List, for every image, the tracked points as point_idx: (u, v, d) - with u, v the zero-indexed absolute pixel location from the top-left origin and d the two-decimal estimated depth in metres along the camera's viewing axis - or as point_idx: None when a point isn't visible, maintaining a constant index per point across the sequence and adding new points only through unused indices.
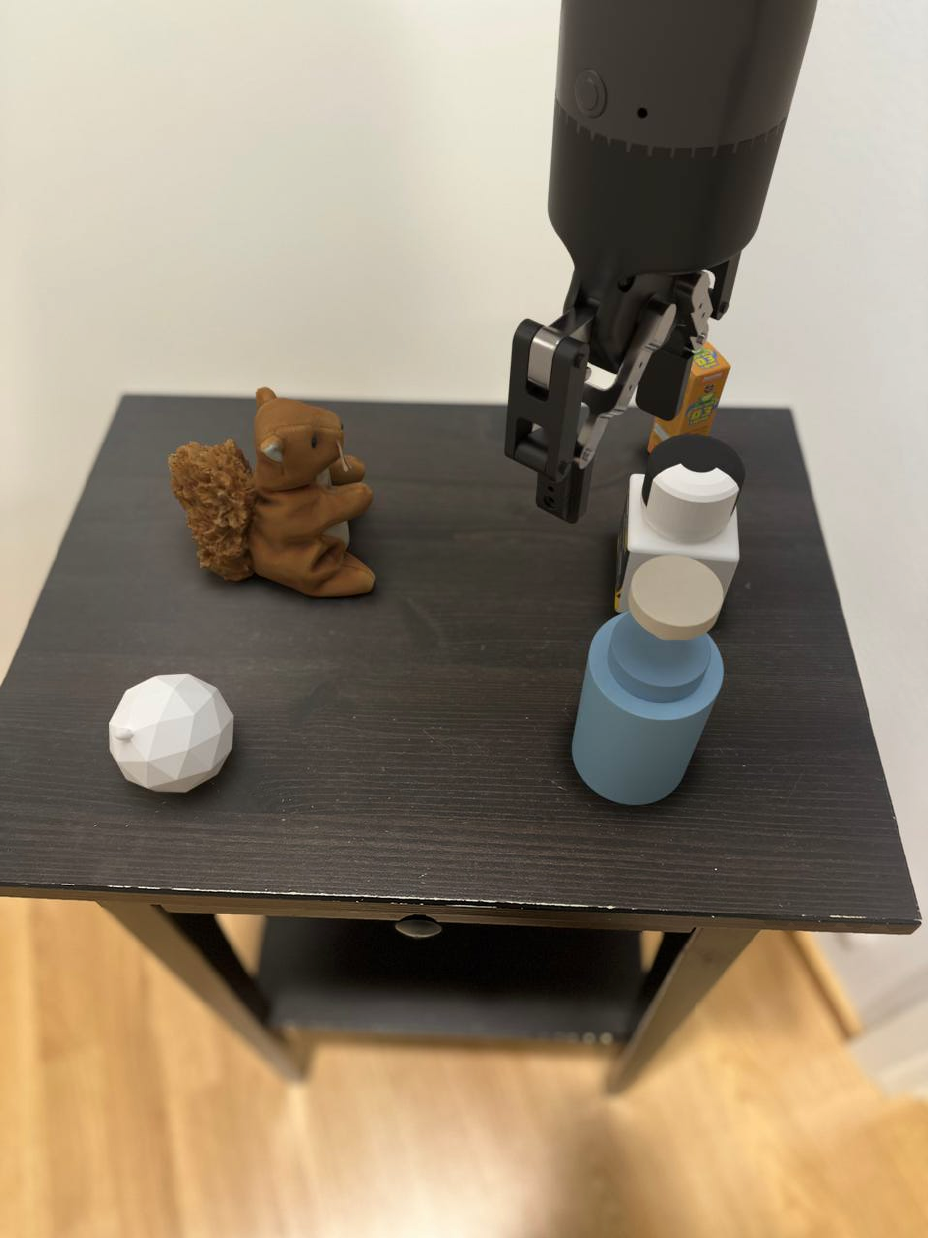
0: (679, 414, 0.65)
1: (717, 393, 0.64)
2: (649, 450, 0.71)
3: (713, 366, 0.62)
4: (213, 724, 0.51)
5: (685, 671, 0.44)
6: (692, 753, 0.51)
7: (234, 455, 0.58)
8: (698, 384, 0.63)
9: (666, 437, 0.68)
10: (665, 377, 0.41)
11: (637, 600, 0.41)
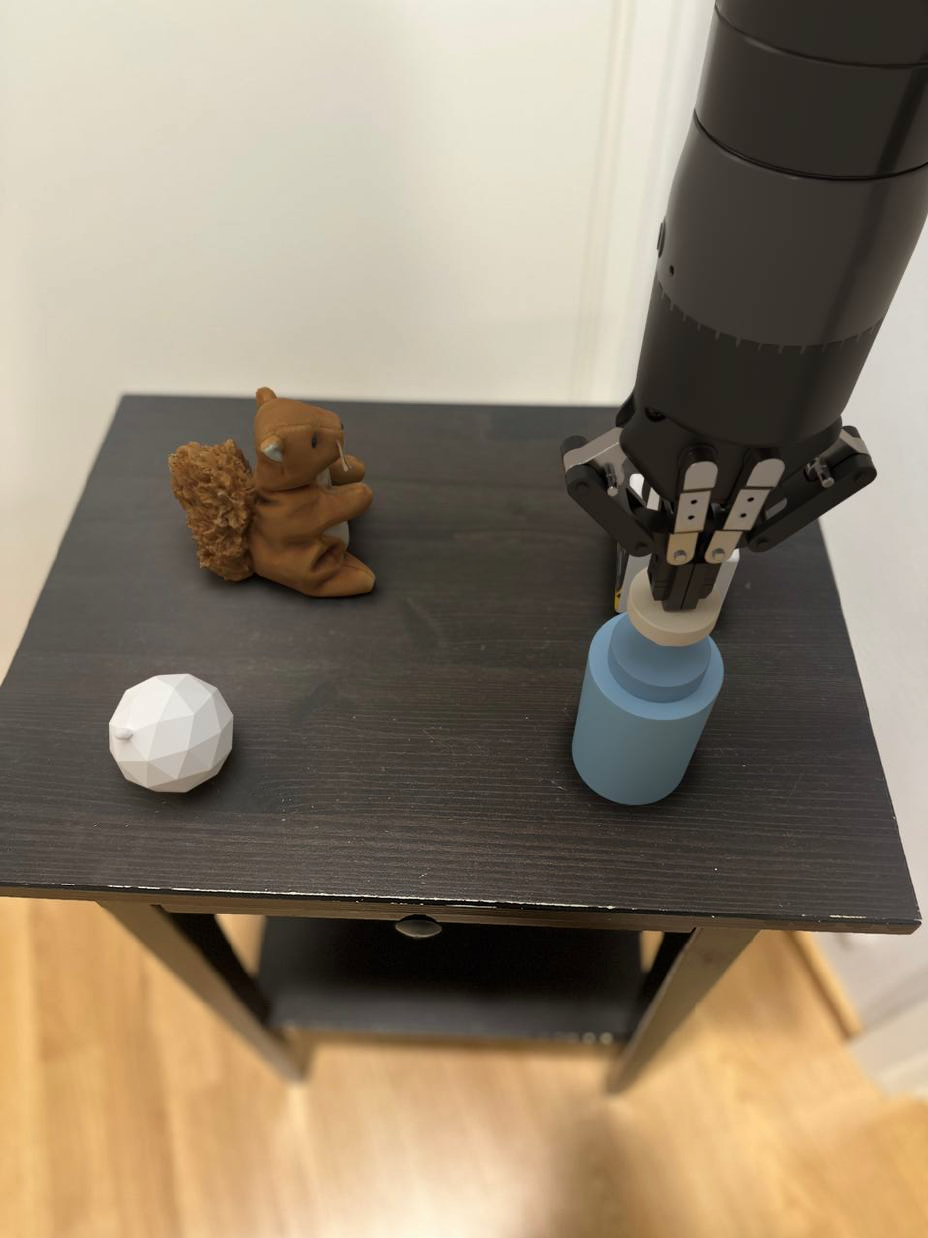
0: None
1: None
2: None
3: None
4: (213, 724, 0.51)
5: (685, 671, 0.44)
6: (692, 753, 0.51)
7: (234, 455, 0.58)
8: None
9: None
10: None
11: (635, 606, 0.42)
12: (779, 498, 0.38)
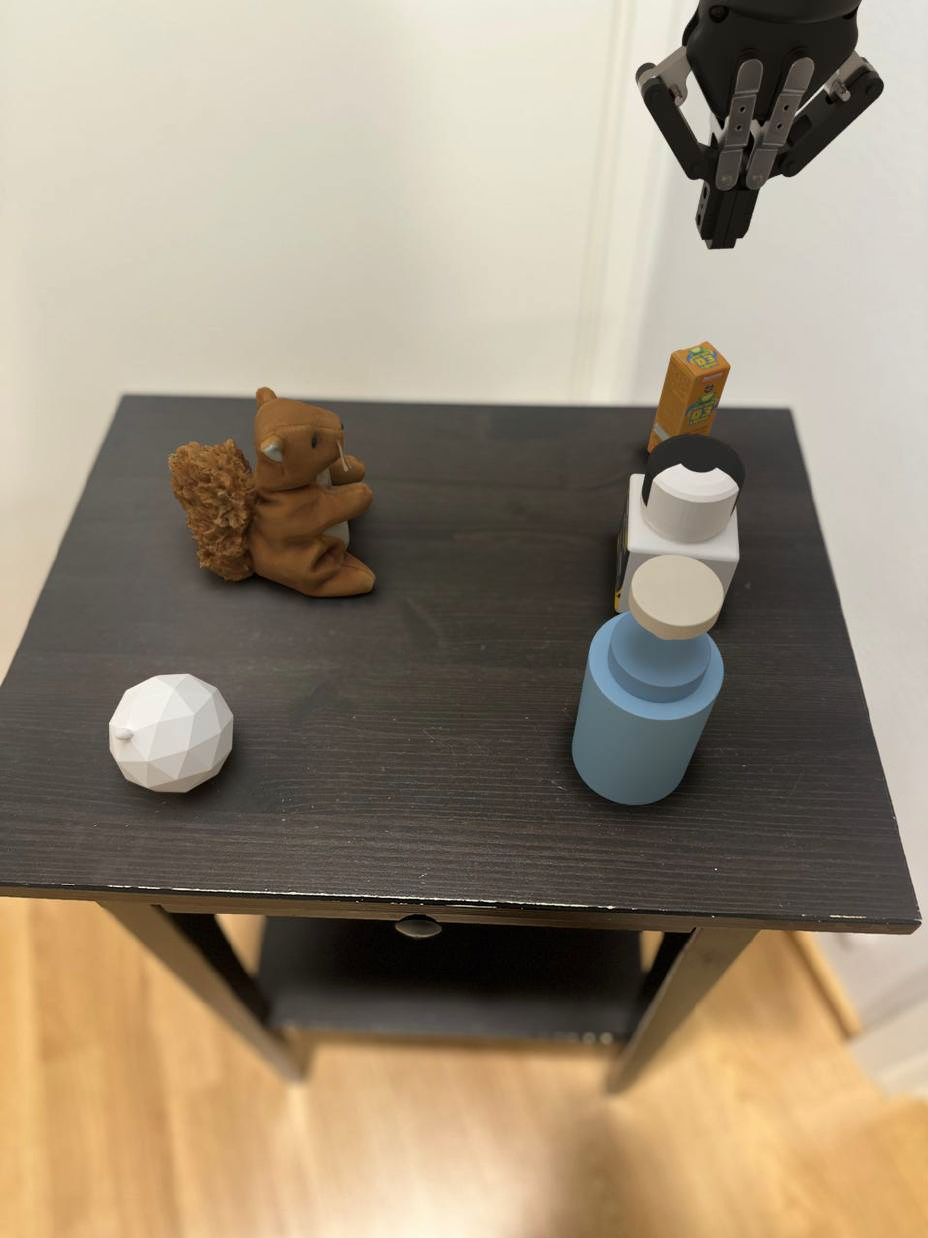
0: (679, 414, 0.65)
1: (717, 393, 0.64)
2: (649, 450, 0.71)
3: (713, 366, 0.62)
4: (213, 724, 0.51)
5: (685, 671, 0.44)
6: (692, 753, 0.51)
7: (234, 455, 0.58)
8: (698, 383, 0.63)
9: (666, 437, 0.68)
10: None
11: (637, 599, 0.41)
12: (804, 134, 0.48)
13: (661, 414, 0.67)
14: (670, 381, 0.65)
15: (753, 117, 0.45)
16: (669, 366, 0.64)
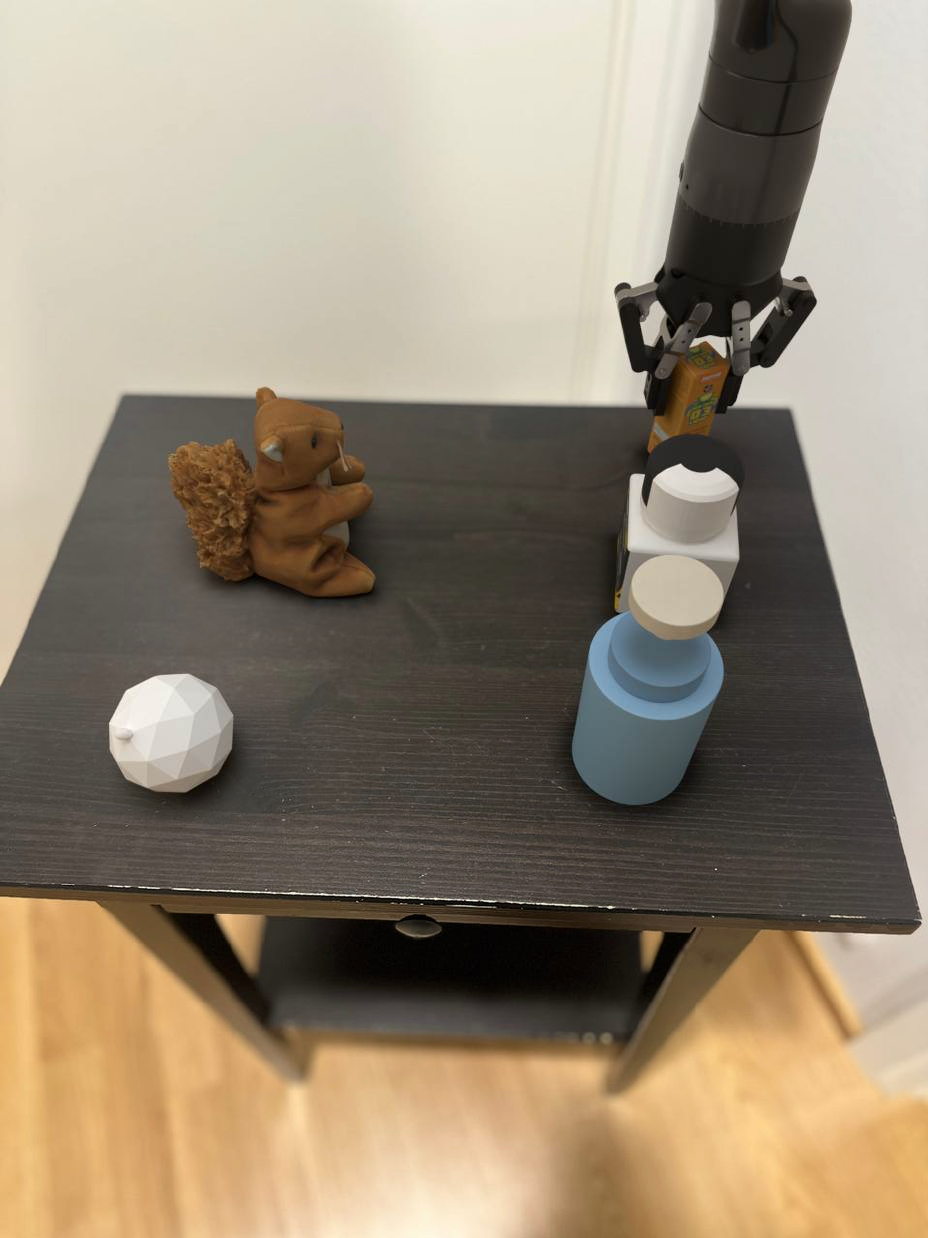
0: (678, 414, 0.65)
1: (716, 393, 0.64)
2: (649, 450, 0.71)
3: (712, 366, 0.62)
4: (213, 724, 0.51)
5: (685, 671, 0.44)
6: (692, 753, 0.51)
7: (234, 455, 0.58)
8: (697, 383, 0.62)
9: (666, 437, 0.68)
10: None
11: (637, 599, 0.41)
12: None
13: None
14: None
15: None
16: None
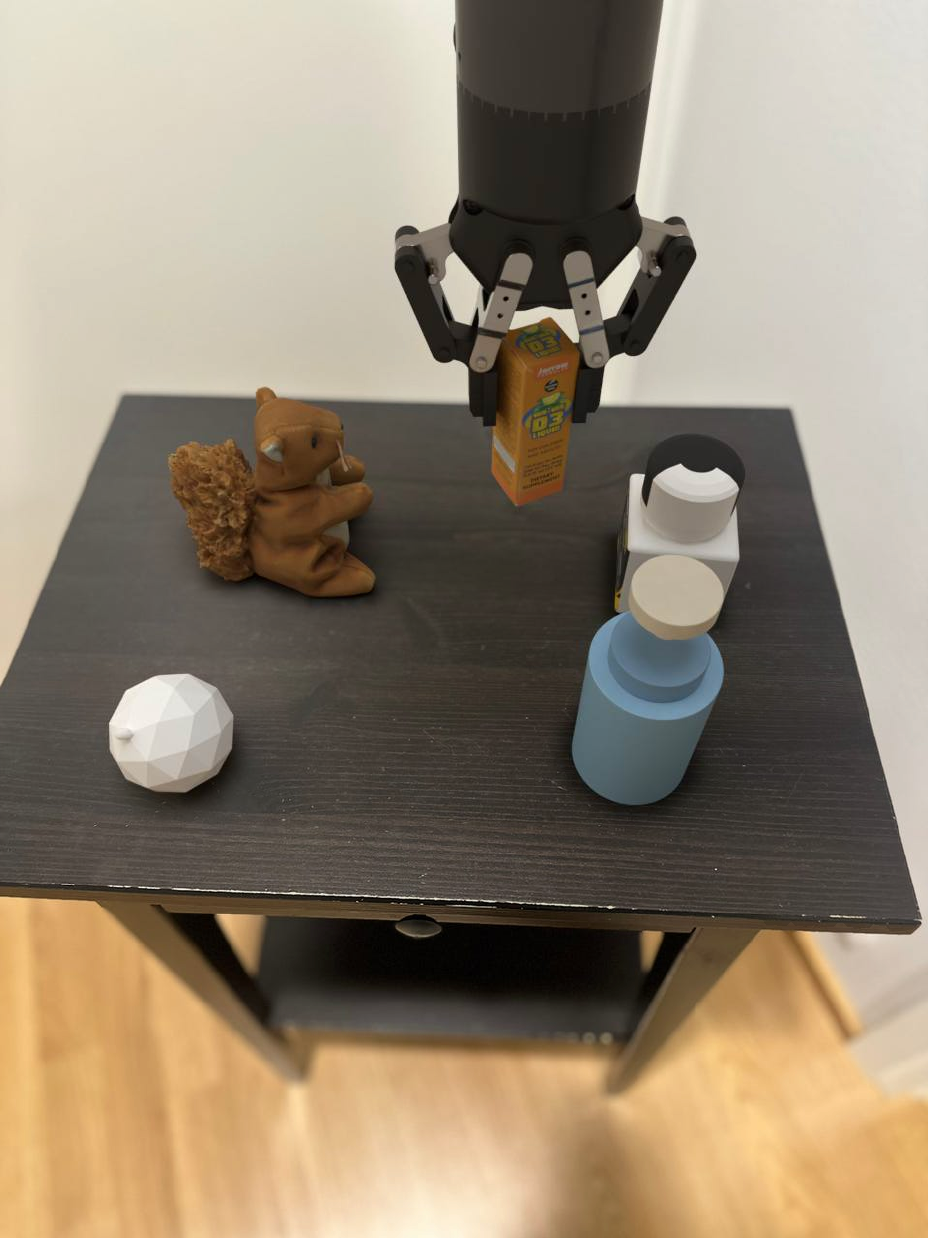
0: (515, 423, 0.45)
1: (567, 393, 0.44)
2: (493, 473, 0.51)
3: (553, 353, 0.42)
4: (213, 724, 0.51)
5: (685, 671, 0.44)
6: (692, 753, 0.51)
7: (234, 455, 0.58)
8: (532, 379, 0.42)
9: (506, 456, 0.48)
10: None
11: (637, 599, 0.41)
12: None
13: (497, 423, 0.47)
14: (500, 375, 0.45)
15: None
16: None
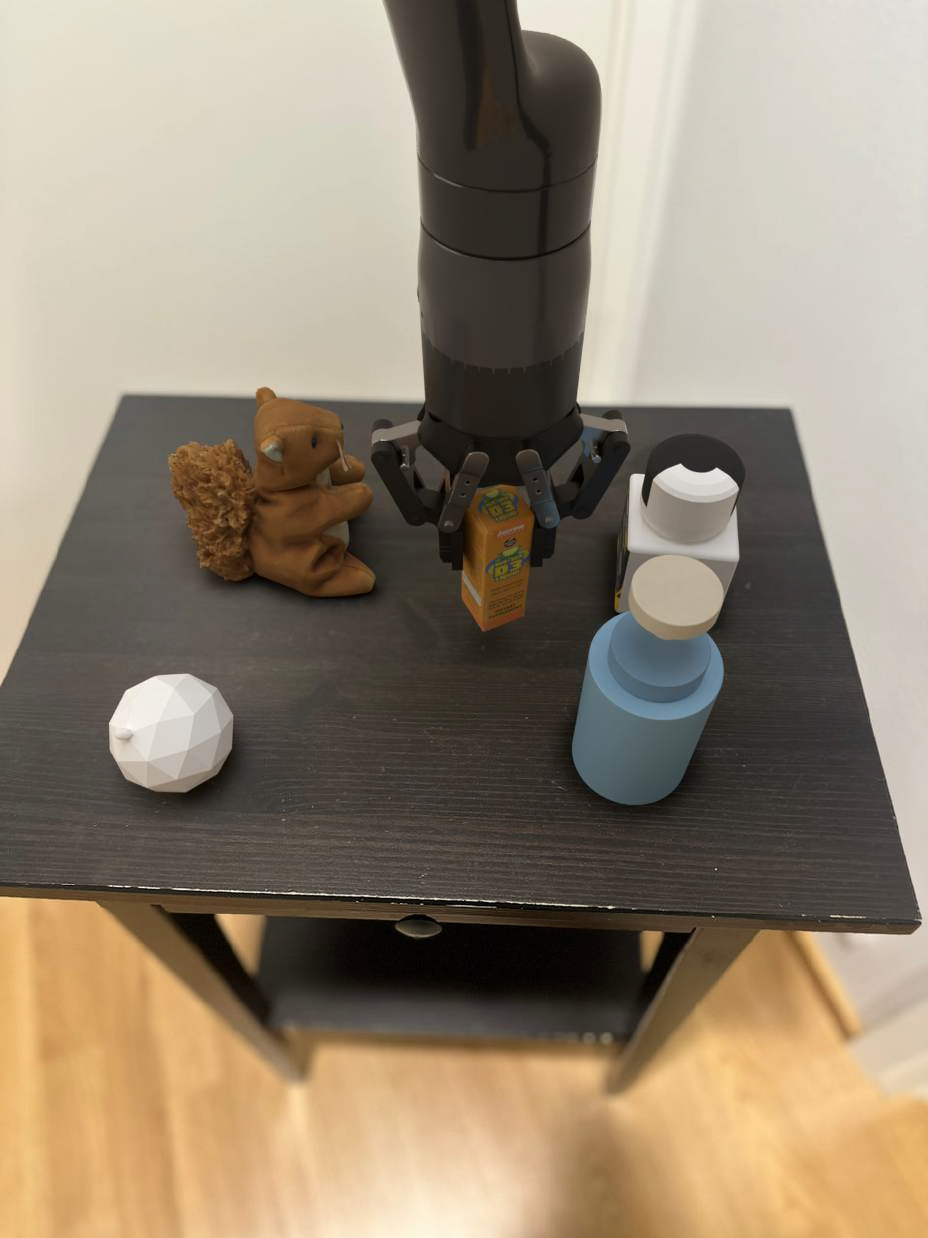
0: (480, 570, 0.51)
1: (524, 546, 0.50)
2: (463, 599, 0.57)
3: (511, 518, 0.48)
4: (213, 724, 0.51)
5: (685, 671, 0.44)
6: (692, 753, 0.51)
7: (234, 455, 0.58)
8: (492, 539, 0.49)
9: (474, 591, 0.54)
10: None
11: (637, 599, 0.41)
12: None
13: (465, 564, 0.54)
14: (466, 529, 0.51)
15: None
16: None
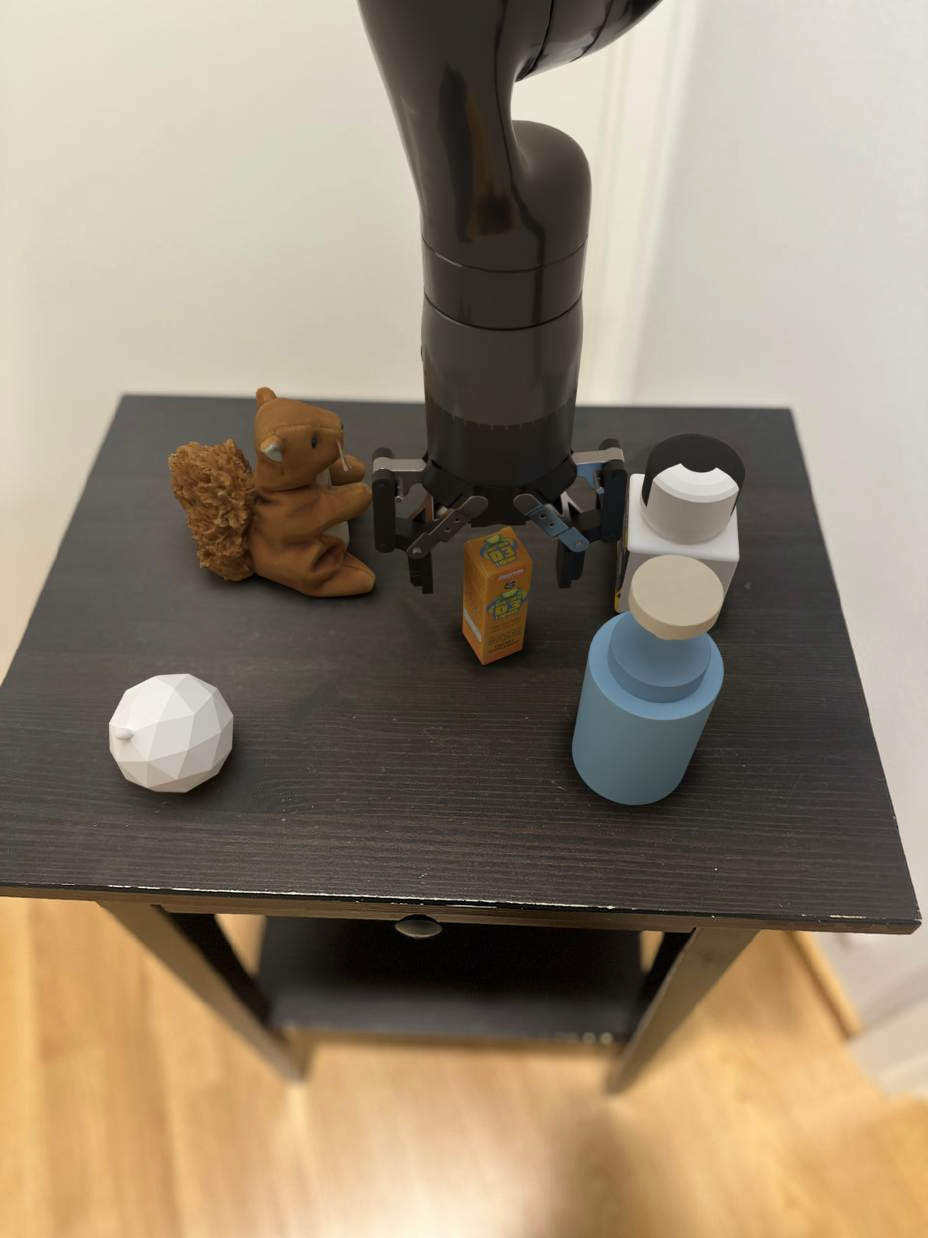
0: (481, 609, 0.55)
1: (523, 587, 0.54)
2: (464, 633, 0.60)
3: (511, 563, 0.52)
4: (213, 724, 0.51)
5: (685, 671, 0.44)
6: (692, 753, 0.51)
7: (234, 455, 0.58)
8: (493, 583, 0.52)
9: (474, 627, 0.57)
10: (560, 556, 0.53)
11: (637, 599, 0.41)
12: None
13: (467, 602, 0.57)
14: (468, 571, 0.54)
15: None
16: (464, 556, 0.53)
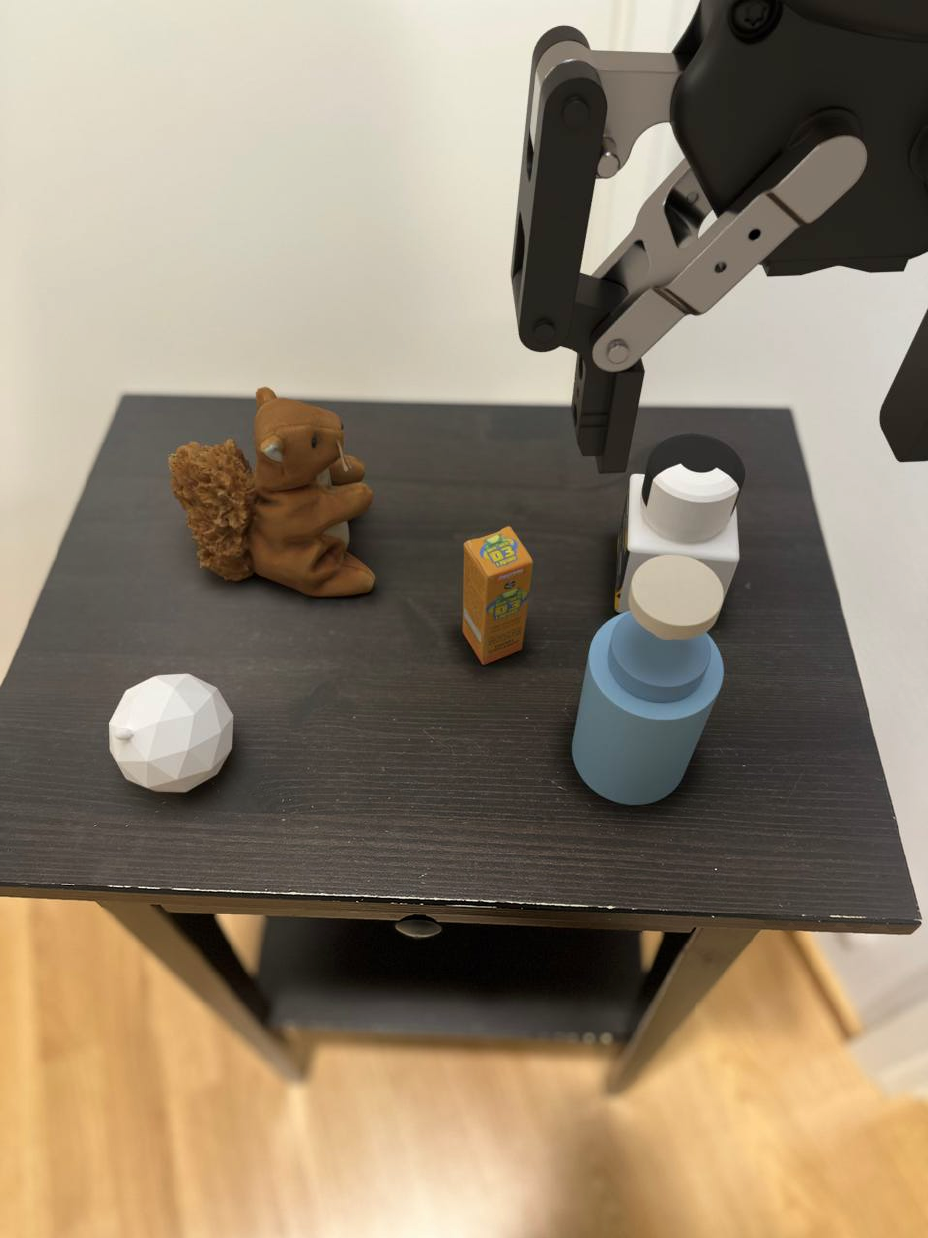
0: (481, 609, 0.55)
1: (523, 587, 0.54)
2: (464, 633, 0.60)
3: (511, 563, 0.52)
4: (213, 724, 0.51)
5: (685, 671, 0.44)
6: (692, 753, 0.51)
7: (234, 455, 0.58)
8: (493, 583, 0.52)
9: (474, 627, 0.57)
10: (924, 381, 0.23)
11: (637, 599, 0.41)
12: None
13: (467, 602, 0.57)
14: (468, 571, 0.54)
15: None
16: (464, 556, 0.53)
